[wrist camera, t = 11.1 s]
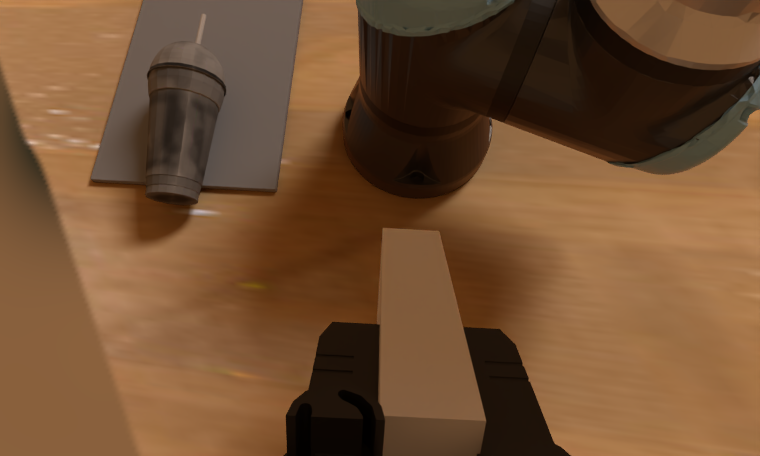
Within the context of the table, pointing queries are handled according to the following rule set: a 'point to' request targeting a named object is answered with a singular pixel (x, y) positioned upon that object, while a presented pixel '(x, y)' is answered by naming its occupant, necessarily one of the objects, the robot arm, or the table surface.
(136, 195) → the table surface
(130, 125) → the rubber mat
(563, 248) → the table surface
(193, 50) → the beverage cup
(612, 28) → the robot arm
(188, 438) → the table surface
